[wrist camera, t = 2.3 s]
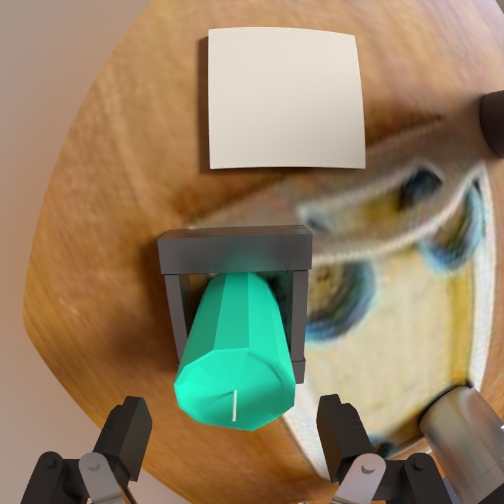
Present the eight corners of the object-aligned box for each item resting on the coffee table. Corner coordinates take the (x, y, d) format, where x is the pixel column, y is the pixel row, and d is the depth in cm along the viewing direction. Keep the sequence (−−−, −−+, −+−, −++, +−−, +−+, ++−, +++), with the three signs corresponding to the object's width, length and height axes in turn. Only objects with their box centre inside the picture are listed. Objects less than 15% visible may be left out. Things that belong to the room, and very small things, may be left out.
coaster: (350, 40, 17) (354, 35, 16) (360, 168, 20) (365, 168, 19) (210, 35, 17) (208, 29, 16) (212, 168, 20) (210, 168, 19)
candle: (186, 304, 22) (143, 414, 11) (236, 252, 21) (226, 345, 10) (241, 347, 24) (239, 464, 12) (292, 302, 22) (328, 413, 11)
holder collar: (303, 225, 21) (312, 233, 18) (298, 362, 24) (303, 383, 21) (168, 229, 21) (157, 239, 18) (187, 364, 24) (182, 385, 21)
